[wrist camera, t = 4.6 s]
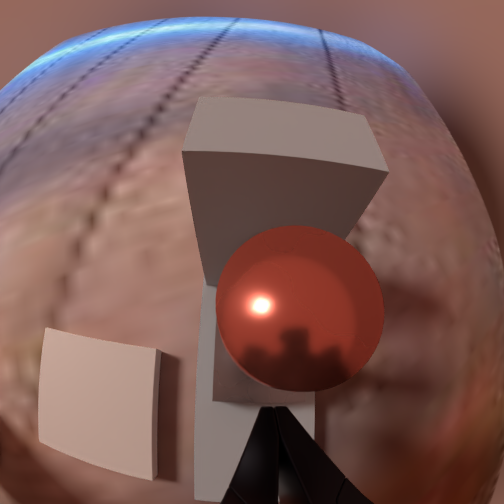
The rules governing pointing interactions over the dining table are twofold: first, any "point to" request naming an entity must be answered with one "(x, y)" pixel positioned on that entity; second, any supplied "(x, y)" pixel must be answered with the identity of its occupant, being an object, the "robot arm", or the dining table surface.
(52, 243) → the dining table surface
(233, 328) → the ball-topped lever
